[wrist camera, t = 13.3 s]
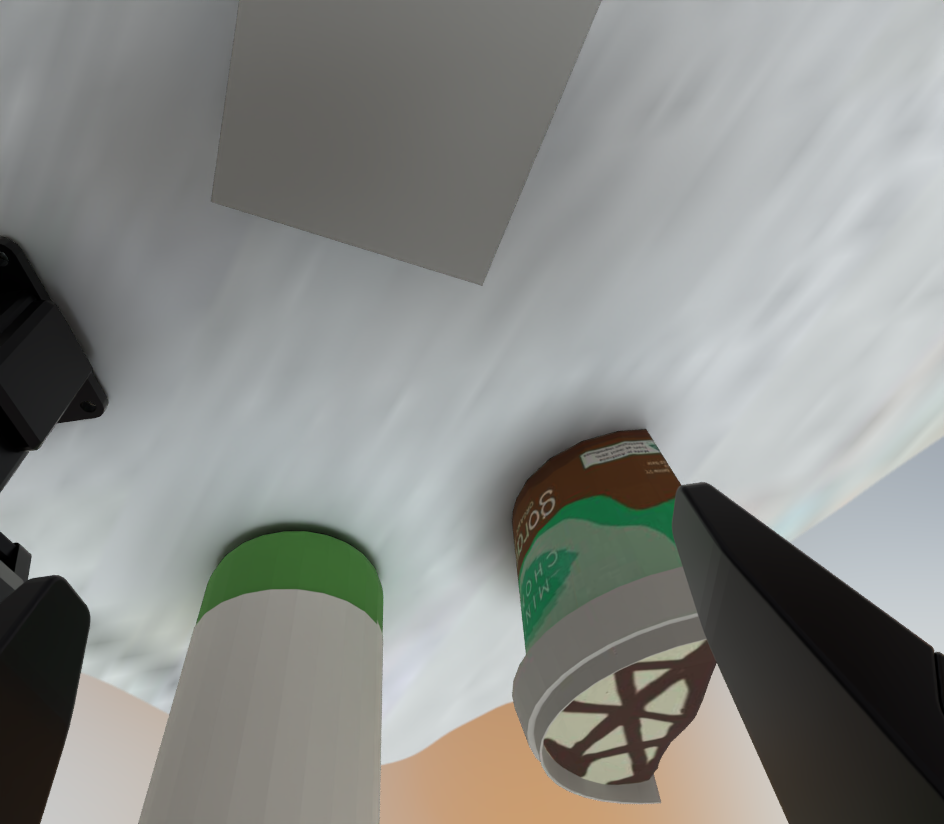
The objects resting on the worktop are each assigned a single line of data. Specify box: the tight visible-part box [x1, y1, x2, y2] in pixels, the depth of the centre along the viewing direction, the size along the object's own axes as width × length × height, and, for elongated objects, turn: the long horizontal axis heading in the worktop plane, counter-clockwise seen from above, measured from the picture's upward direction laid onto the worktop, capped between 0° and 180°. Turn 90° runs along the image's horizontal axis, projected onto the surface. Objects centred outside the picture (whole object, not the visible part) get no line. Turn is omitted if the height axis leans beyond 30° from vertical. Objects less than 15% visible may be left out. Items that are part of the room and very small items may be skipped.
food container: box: [512, 429, 717, 804], centre depth 24 cm, size 12×6×10 cm, turn 175°
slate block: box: [211, 0, 602, 285], centre depth 16 cm, size 7×7×4 cm
